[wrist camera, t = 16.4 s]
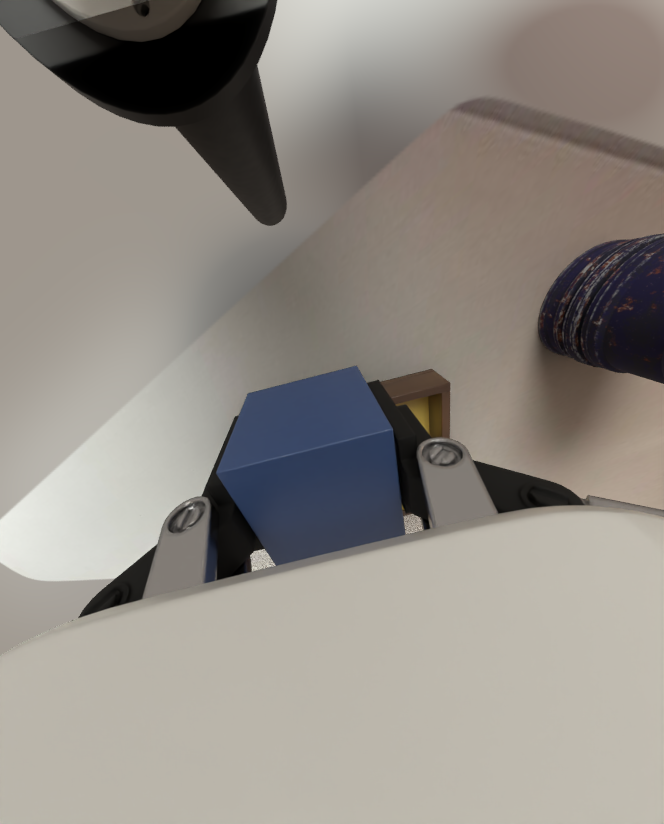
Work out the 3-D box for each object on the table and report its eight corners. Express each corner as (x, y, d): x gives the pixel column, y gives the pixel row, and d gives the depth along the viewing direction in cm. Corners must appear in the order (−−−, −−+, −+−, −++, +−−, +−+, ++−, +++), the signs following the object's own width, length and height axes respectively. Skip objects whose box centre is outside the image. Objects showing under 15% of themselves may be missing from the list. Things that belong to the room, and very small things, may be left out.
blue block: (247, 392, 10) (214, 473, 6) (356, 365, 10) (393, 428, 6) (283, 472, 12) (276, 567, 8) (372, 450, 12) (406, 535, 8)
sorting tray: (235, 418, 25) (226, 438, 22) (431, 368, 25) (450, 382, 22) (286, 519, 33) (284, 544, 30) (434, 482, 33) (449, 505, 29)
